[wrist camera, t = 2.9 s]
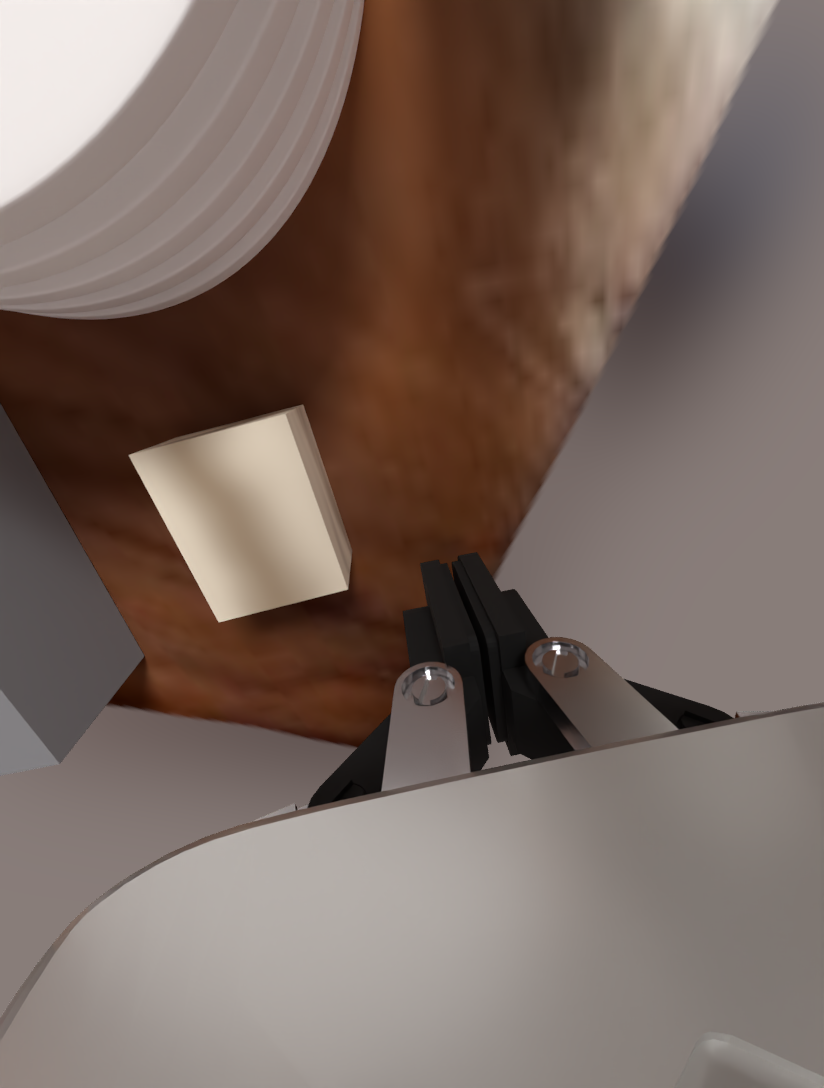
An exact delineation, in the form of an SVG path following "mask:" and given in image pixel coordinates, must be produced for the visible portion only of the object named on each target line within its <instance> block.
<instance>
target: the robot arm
mask: <svg viewBox="0 0 824 1088" xmlns="http://www.w3.org/2000/svg"><path fill="white" fill-rule="evenodd" d="M420 566H421V572H422V577H423V583H424V588H425V594H426V600H427V605H428V606H426V607H421V608H416V609H411V610H406V611H403V617H404V625H405V632H406V639H407V647H408V654H409V661H410V668H409V669H408V670H406V671H405V672H404V673H402V675H401V676H400V677H399V678H398V680H397V682H396V685H395V688H394V695H393V703H392V711H391V714H390V715H389V716H388V717H387V718H386V719H385V720H384V721H383V722H382V723H381V724H380V725H379V726H378V727H377V728H376V729H375V730H374V731H373V732H372V733H371V734H370V735H369V736H368V737H367V739H366V740H365V741H364V742H363V743H362V744H361V745H360V746H359V747H358V748H357V749H356V750H355V751H354V752H353V753H352V754H351V755H350V756H349V757H348V758H347V759H346V760H345V761H344V763H342V764H341V766H340V767H339V768H338V769H337V770H336V771H335V772H334V773H333V774H332V775H331V776H330V777H329V778H328V779H327V780H326V781H325V782H324V783H323V784H322V785H321V786H320V787H319V789H318V790H317V791H316V793H315V794H314V795H313V797H312V798H311V800H310V803H309V804H307V805H305V806H302V807H300V808H298V809H297V806H296V804H295V803H294V804H291V805H289V806H287V807H285V808H282V809H280V810H277V811H275V812H273V813H271V814H268V815H266V816H264V817H261V818H259V819H257V820H254V821H252V822H250V823H246V824H242V825H239V826H236V827H233V828H230V829H227V830H224V831H221V832H218V833H216V834H213V835H210V836H207V837H204V838H202V839H199V840H197V841H195V842H193V843H191V844H188V845H186V846H184V847H182V848H180V849H177V850H175V851H173V852H171V853H169V854H167V855H165V856H163V857H161V858H160V859H158V860H156V861H154V862H153V863H151V864H149V865H147V866H146V867H144V868H142V869H140V870H139V871H137V872H135V873H133V874H132V875H130V876H128V877H127V878H126V879H124V880H123V881H121V882H120V883H118V884H117V885H115V886H114V887H112V888H111V889H110V890H108V891H107V892H106V893H104V894H103V895H102V896H100V897H99V898H98V899H96V900H95V901H94V902H92V903H91V904H90V905H89V906H88V907H87V908H86V909H85V910H84V911H82V912H81V913H80V915H78V916H77V917H76V918H75V919H74V920H73V921H72V922H71V923H70V924H69V925H68V926H67V927H66V929H65V930H64V931H63V932H62V933H61V934H60V936H59V937H58V938H57V939H56V940H55V941H54V942H53V944H52V945H51V946H50V948H49V949H48V950H47V952H46V953H45V954H44V955H43V957H42V958H41V959H40V960H39V962H38V963H37V964H36V966H35V967H34V969H33V970H32V971H31V973H30V974H29V976H28V977H27V978H26V980H25V981H24V983H23V984H22V985H21V987H20V988H19V990H18V991H17V993H16V994H15V996H14V997H13V999H12V1000H11V1002H10V1003H9V1005H8V1006H7V1008H6V1010H5V1011H4V1012H3V1014H2V1015H1V1017H0V1088H824V702H821V703H815V704H809V705H803V706H797V707H792V708H787V709H782V710H777V711H765V712H764V711H762V712H761V711H759V712H758V711H757V712H756V711H755V712H754V711H753V712H736V715H735V718H732V717H731V716H729V715H728V714H726V713H724V712H722V711H720V710H717V709H715V708H712V707H710V706H707V705H704V704H701V703H698V702H695V701H691V700H688V699H685V698H682V697H679V696H675V695H673V694H669V693H666V692H663V691H660V690H657V689H654V688H650V687H648V686H644V685H641V684H638V683H635V682H632V681H629V680H626V679H623V678H622V677H621V676H619V674H617V673H616V672H615V671H614V670H613V669H612V668H611V667H610V666H609V665H608V664H607V663H605V662H604V661H603V660H602V659H601V658H600V657H599V656H598V655H597V654H595V653H594V652H593V651H592V650H591V649H590V648H589V647H587V646H586V645H584V644H583V643H581V642H578V641H576V640H573V639H568V638H563V637H550V638H548V636H547V635H546V633H545V632H544V631H543V629H542V628H541V626H540V625H539V623H538V622H537V620H536V619H535V617H534V616H533V614H532V613H531V612H530V610H529V609H528V607H527V606H526V604H525V603H524V601H523V600H522V598H521V597H520V595H519V594H518V592H517V591H516V590H514V589H512V590H507V591H502V592H501V591H500V589H499V588H498V586H497V585H496V583H495V581H494V580H493V578H492V576H491V575H490V573H489V571H488V570H487V568H486V566H485V565H484V563H483V561H482V560H481V558H480V557H479V555H478V553H477V552H475V553H470V554H465V555H460V556H458V561H455V562H452V569H453V576H454V580H453V577H452V575H451V573H450V570H449V568H448V565H447V563H444V564H440V562H439V560H434V561H429V562H424V563H420ZM488 717H489V720H490V723H491V725H492V728H493V731H494V734H495V737H496V740H497V742H498V743H499V742H503V741H505V742H506V744H507V747H508V750H509V753H510V755H511V756H512V755H517V754H522V755H524V756H526V757H528V758H530V759H532V760H528V761H523V762H518V763H514V764H509V765H504V766H499V767H495V768H490V769H485V770H481V769H482V767H483V766H484V764H485V763H486V761H487V760H488V758H489V754H488V747H487V745H489V744H491V736H490V728H489V720H488Z"/></svg>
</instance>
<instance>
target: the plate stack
mask: <svg viewBox="0 0 824 1088" xmlns="http://www.w3.org/2000/svg"><path fill="white" fill-rule="evenodd" d="M363 8H364V0H0V310H8V311H15V312H20V313H26V314H32V315H39V316H47V317H55V318H65V319H86V320H93V319H113V318H123V317H130V316H136V315H141V314H146V313H151V312H154V311H158V310H162V309H165V308H168V307H171V306H174V305H177V304H180V303H182V302H185V301H187V300H189V299H192V298H194V297H196V296H198V295H200V294H202V293H204V292H206V291H208V290H209V289H211V288H213V287H215V286H216V285H218V284H219V283H221V282H223V281H224V280H226V279H227V278H229V277H230V276H231V275H233V274H234V273H235V272H237V271H238V270H239V269H241V268H242V267H243V266H244V265H245V264H247V263H248V262H249V261H250V260H251V259H252V258H253V257H254V256H256V255H257V254H258V253H259V252H260V251H261V250H262V249H263V248H264V247H265V246H266V245H267V244H268V243H269V241H270V240H271V239H272V238H273V237H274V236H275V235H276V233H277V232H278V231H279V230H280V229H281V227H282V226H283V225H284V223H285V222H286V221H287V219H288V218H289V217H290V215H291V214H292V213H293V211H294V210H295V208H296V207H297V205H298V204H299V202H300V201H301V199H302V197H303V196H304V194H305V192H306V191H307V189H308V187H309V185H310V184H311V182H312V180H313V178H314V176H315V174H316V172H317V170H318V168H319V166H320V164H321V162H322V160H323V158H324V155H325V153H326V151H327V148H328V146H329V144H330V141H331V139H332V136H333V133H334V131H335V128H336V125H337V123H338V120H339V117H340V113H341V110H342V107H343V104H344V101H345V97H346V94H347V90H348V86H349V83H350V79H351V74H352V70H353V66H354V61H355V57H356V51H357V46H358V41H359V35H360V29H361V22H362V16H363Z"/></svg>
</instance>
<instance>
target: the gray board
mask: <svg viewBox="0 0 824 1088" xmlns="http://www.w3.org/2000/svg"><path fill="white" fill-rule="evenodd" d="M143 657H144V654H143V653H142V651H141V649H140V647H139V646H138V644H137V642H136V640H135V639H134V637H133V635H132V633H131V632H130V630H129V628H128V626H127V625H126V623H125V621H124V619H123V618H122V616H121V614H120V612H119V611H118V609H117V607H116V605H115V604H114V602H113V600H112V598H111V597H110V595H109V593H108V591H107V590H106V588H105V586H104V584H103V583H102V581H101V579H100V577H99V576H98V574H97V572H96V570H95V569H94V567H93V565H92V563H91V562H90V560H89V558H88V556H87V554H86V553H85V551H84V549H83V547H82V546H81V544H80V542H79V540H78V539H77V537H76V535H75V533H74V532H73V530H72V528H71V526H70V525H69V523H68V521H67V519H66V518H65V516H64V514H63V512H62V511H61V509H60V507H59V505H58V504H57V502H56V500H55V498H54V497H53V495H52V493H51V491H50V490H49V488H48V486H47V484H46V483H45V481H44V479H43V477H42V476H41V474H40V472H39V470H38V469H37V467H36V465H35V463H34V462H33V460H32V458H31V456H30V455H29V453H28V451H27V449H26V448H25V446H24V444H23V442H22V441H21V439H20V437H19V435H18V433H17V432H16V430H15V428H14V426H13V425H12V423H11V421H10V419H9V418H8V416H7V414H6V412H5V411H4V409H3V407H2V405H1V404H0V776H1V775H6V774H11V773H16V772H21V771H27V770H32V769H37V768H42V767H47V766H52V765H57V764H60V763H61V762H62V761H63V759H64V758H65V757H66V755H67V754H68V753H69V751H70V750H71V749H72V748H73V746H74V745H75V744H76V743H77V742H78V740H79V739H80V738H81V736H82V735H83V734H84V733H85V731H86V730H87V729H88V727H89V726H90V725H91V724H92V722H93V721H94V720H95V719H96V717H97V716H98V715H99V713H100V712H101V711H102V709H103V708H104V707H105V706H106V705H107V703H108V702H109V701H110V699H111V698H112V697H113V696H114V694H115V693H116V692H117V691H118V689H119V688H120V687H121V685H122V684H123V683H124V682H125V680H126V679H127V678H128V676H129V675H130V674H131V673H132V671H133V670H134V669H135V668H136V666H137V665H138V664H139V662H140V661H141V660H142V659H143Z"/></svg>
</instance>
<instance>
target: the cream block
mask: <svg viewBox="0 0 824 1088" xmlns="http://www.w3.org/2000/svg"><path fill="white" fill-rule="evenodd" d="M129 457H130V459H131V461H132V463H133V465H134V467H135V468H136V470H137V472H138V474H139V476H140V478H141V480H142V481H143V483H144V485H145V487H146V489H147V491H148V492H149V494H150V496H151V498H152V500H153V502H154V504H155V505H156V507H157V509H158V511H159V513H160V515H161V517H162V518H163V520H164V522H165V524H166V526H167V528H168V529H169V531H170V533H171V535H172V537H173V539H174V541H175V542H176V544H177V546H178V548H179V550H180V552H181V554H182V555H183V557H184V559H185V561H186V563H187V565H188V566H189V568H190V570H191V572H192V574H193V576H194V578H195V579H196V581H197V583H198V585H199V587H200V589H201V591H202V592H203V594H204V596H205V598H206V600H207V602H208V603H209V605H210V607H211V609H212V611H213V613H214V615H215V616H216V618H217V620H218V622H222V621H226V620H230V619H234V618H238V617H242V616H246V615H250V614H254V613H258V612H262V611H265V610H269V609H273V608H277V607H281V606H285V605H289V604H293V603H297V602H301V601H305V600H309V599H313V598H317V597H321V596H325V595H328V594H332V593H336V592H340V591H344V590H348V585H349V576H350V567H351V557H352V549H351V546H350V543H349V540H348V537H347V534H346V531H345V528H344V525H343V522H342V519H341V516H340V513H339V510H338V507H337V504H336V501H335V498H334V495H333V492H332V489H331V486H330V483H329V480H328V477H327V474H326V471H325V468H324V465H323V462H322V459H321V456H320V453H319V450H318V447H317V444H316V441H315V438H314V435H313V432H312V429H311V426H310V423H309V420H308V417H307V414H306V411H305V408H304V405H303V404H302V405H299V406H295V407H291V408H287V409H283V410H279V411H276V412H272V413H268V414H264V415H260V416H256V417H253V418H249V419H245V420H241V421H237V422H233V423H230V424H226V425H222V426H218V427H214V428H210V429H207V430H203V431H199V432H195V433H191V434H187V435H184V436H180V437H176V438H174V439H171V440H168V441H166V442H163V443H160V444H157V445H155V446H152V447H149V448H146V449H144V450H141V451H138V452H135V453H133V454H130V455H129Z"/></svg>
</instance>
